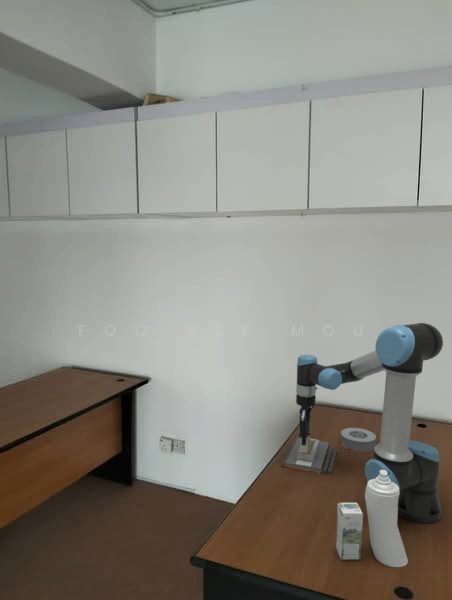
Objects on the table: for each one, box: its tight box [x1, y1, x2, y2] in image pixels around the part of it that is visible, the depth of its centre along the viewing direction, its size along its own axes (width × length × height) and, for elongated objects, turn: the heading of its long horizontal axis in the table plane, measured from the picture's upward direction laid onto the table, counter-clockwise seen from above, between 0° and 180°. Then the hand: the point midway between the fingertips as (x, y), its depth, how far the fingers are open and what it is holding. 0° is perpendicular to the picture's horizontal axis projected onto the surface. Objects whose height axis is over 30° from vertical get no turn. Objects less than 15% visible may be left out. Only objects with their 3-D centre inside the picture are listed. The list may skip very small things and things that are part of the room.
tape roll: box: [340, 427, 377, 451], centre depth 207 cm, size 15×15×5 cm
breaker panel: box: [281, 437, 338, 475], centre depth 194 cm, size 26×20×4 cm
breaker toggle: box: [303, 436, 312, 454], centre depth 190 cm, size 3×3×8 cm
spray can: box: [364, 470, 409, 568], centre depth 131 cm, size 12×11×25 cm
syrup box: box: [335, 502, 364, 561], centre depth 132 cm, size 6×6×14 cm
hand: (304, 451), depth 184 cm, fingers closed
